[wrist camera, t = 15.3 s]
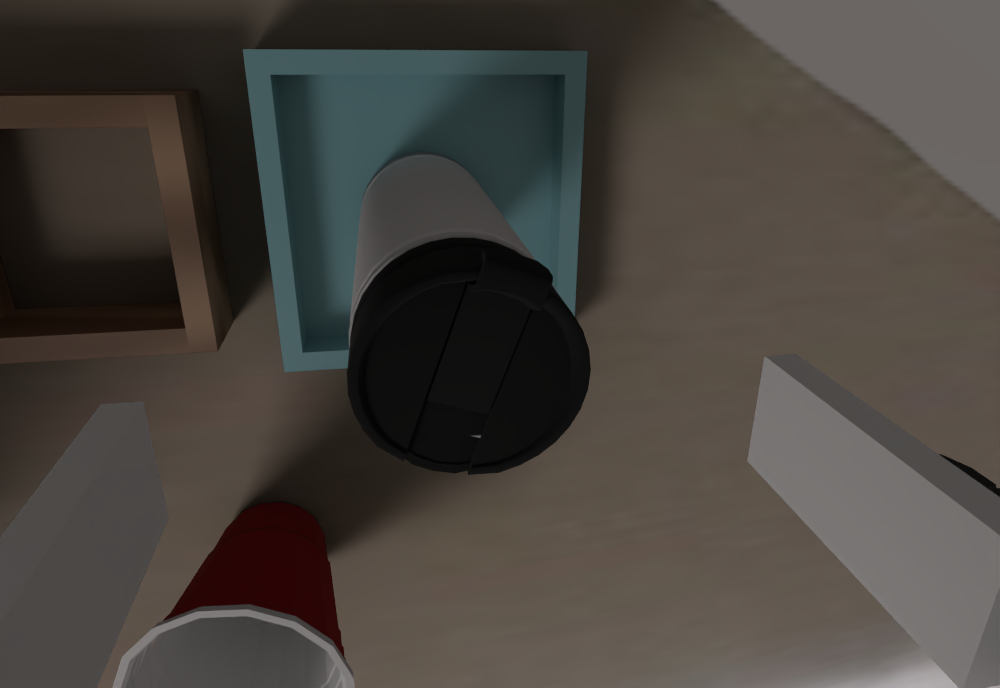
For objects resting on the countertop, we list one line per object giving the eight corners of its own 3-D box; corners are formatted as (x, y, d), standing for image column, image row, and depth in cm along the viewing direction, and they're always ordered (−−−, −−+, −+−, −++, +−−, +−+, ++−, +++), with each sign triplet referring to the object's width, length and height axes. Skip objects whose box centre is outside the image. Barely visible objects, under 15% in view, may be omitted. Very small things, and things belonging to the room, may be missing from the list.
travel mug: (504, 167, 35) (643, 298, 17) (462, 287, 37) (546, 520, 19) (382, 126, 33) (389, 221, 15) (346, 254, 35) (314, 474, 17)
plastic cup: (182, 454, 39) (106, 610, 28) (374, 472, 42) (373, 622, 31) (172, 604, 43) (102, 793, 32) (349, 613, 45) (340, 791, 34)
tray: (559, 333, 40) (572, 353, 37) (291, 348, 38) (284, 372, 35) (570, 50, 34) (587, 50, 31) (254, 49, 32) (242, 49, 29)
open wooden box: (233, 321, 37) (217, 351, 33) (-6, 334, 35) (-50, 367, 31) (197, 89, 32) (174, 94, 29) (-79, 91, 30) (-141, 96, 27)
